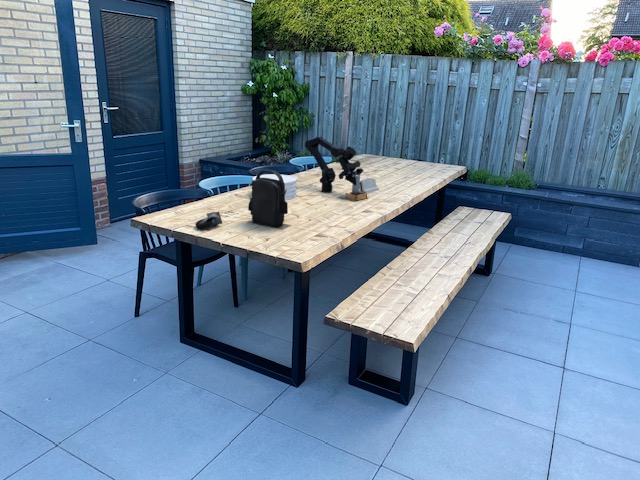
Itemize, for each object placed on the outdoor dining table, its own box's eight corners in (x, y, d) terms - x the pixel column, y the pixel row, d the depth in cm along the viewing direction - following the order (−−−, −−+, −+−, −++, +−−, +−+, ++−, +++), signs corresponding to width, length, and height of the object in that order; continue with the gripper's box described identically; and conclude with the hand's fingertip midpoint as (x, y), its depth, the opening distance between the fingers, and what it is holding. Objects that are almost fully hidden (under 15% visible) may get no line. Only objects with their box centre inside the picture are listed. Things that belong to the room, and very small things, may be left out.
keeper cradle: (338, 197, 310) (339, 192, 309) (352, 194, 319) (353, 189, 318) (354, 201, 301) (354, 196, 300) (368, 198, 311) (368, 193, 310)
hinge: (365, 193, 324) (362, 179, 323) (360, 194, 327) (357, 180, 326) (379, 190, 336) (376, 175, 335) (373, 191, 339) (370, 177, 338)
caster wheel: (195, 234, 236) (202, 226, 245) (217, 231, 235) (223, 223, 243) (191, 222, 234) (198, 214, 242) (213, 219, 232) (219, 211, 241)
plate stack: (290, 202, 294) (290, 184, 290) (246, 199, 299) (246, 180, 295) (301, 193, 320) (301, 176, 316) (260, 189, 325) (260, 173, 321)
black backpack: (292, 225, 248) (293, 171, 239) (282, 229, 240) (283, 174, 232) (257, 218, 258) (256, 166, 250) (246, 222, 251) (245, 168, 242)
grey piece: (349, 194, 309) (351, 174, 304) (354, 193, 312) (356, 173, 308) (355, 196, 305) (357, 175, 301) (360, 195, 309) (362, 175, 305)
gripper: (343, 158, 297) (355, 178, 294) (362, 155, 310) (374, 175, 306) (333, 168, 305) (345, 189, 301) (352, 165, 318) (364, 185, 314)
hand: (357, 184), depth 306 cm, fingers closed on grey piece, 3 cm apart
